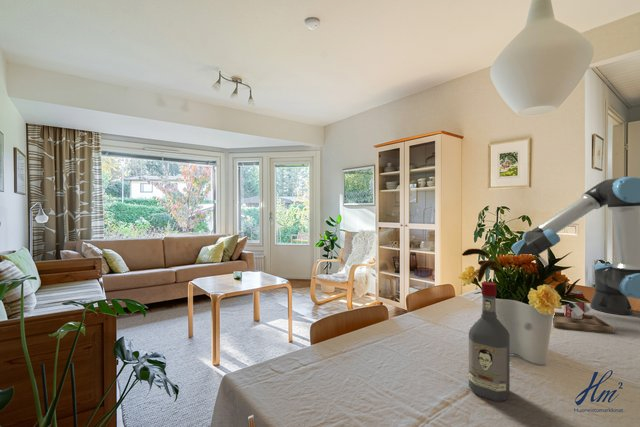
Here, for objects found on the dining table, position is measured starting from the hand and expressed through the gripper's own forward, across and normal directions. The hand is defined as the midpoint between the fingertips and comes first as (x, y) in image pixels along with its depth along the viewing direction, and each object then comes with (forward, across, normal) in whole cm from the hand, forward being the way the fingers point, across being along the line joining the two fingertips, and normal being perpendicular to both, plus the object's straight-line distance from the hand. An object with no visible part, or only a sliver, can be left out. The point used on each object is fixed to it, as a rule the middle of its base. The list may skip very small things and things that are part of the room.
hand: (584, 312), depth 130 cm
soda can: (0, 0, -5) cm, 5 cm away
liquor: (+7, +80, -2) cm, 81 cm away
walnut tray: (+2, 0, -7) cm, 7 cm away
